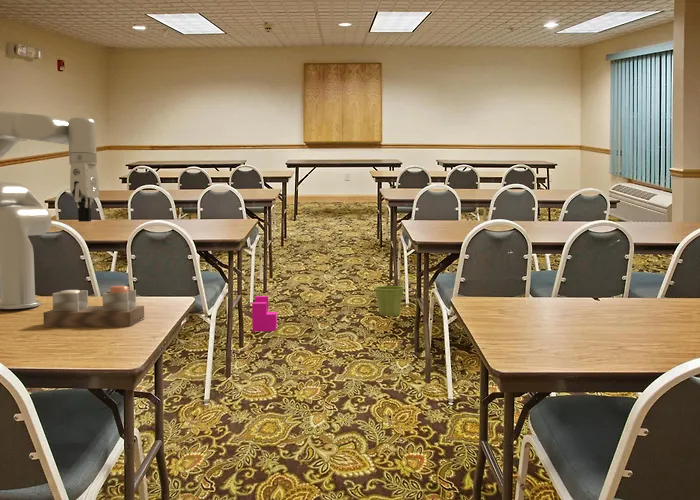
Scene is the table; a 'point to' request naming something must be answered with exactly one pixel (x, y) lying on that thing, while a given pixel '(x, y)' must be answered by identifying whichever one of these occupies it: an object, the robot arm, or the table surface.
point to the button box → (93, 310)
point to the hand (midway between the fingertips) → (84, 221)
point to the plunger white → (70, 291)
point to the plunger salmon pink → (119, 289)
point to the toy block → (263, 315)
